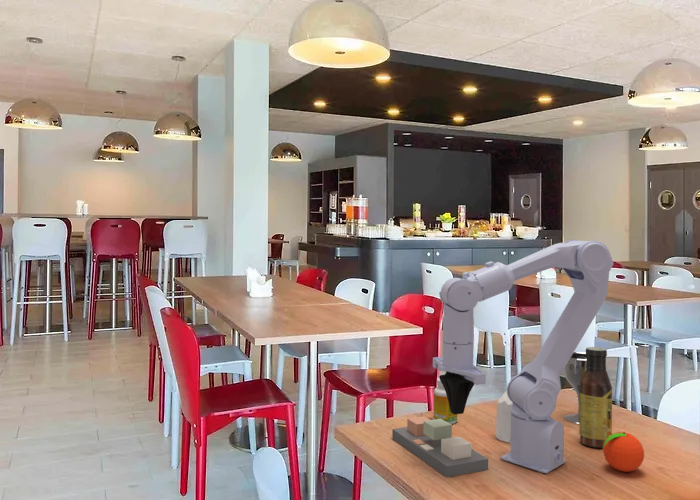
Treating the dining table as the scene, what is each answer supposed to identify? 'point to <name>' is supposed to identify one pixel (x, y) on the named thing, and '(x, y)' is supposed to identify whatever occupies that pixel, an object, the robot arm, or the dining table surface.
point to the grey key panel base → (439, 454)
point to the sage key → (437, 429)
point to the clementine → (623, 451)
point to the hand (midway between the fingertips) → (457, 413)
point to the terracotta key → (416, 425)
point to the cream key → (456, 448)
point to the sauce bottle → (595, 400)
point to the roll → (504, 418)
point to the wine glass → (575, 378)
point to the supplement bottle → (442, 405)
